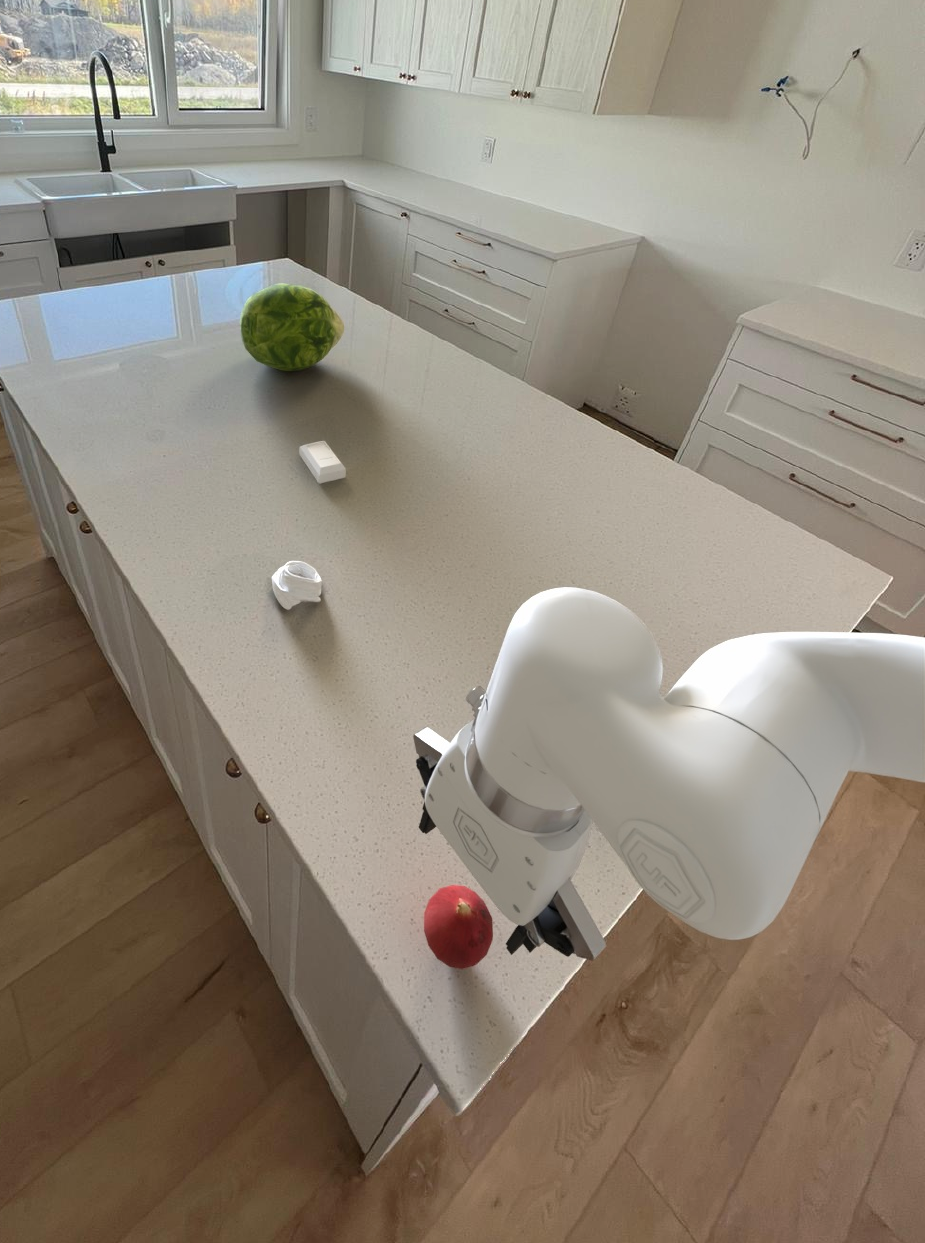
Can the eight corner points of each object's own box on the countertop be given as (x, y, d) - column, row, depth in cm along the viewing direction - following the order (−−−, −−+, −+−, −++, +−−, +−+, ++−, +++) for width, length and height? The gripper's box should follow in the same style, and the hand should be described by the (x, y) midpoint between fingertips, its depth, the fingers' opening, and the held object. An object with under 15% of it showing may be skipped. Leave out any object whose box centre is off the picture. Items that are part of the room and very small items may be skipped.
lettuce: (356, 375, 140) (365, 292, 132) (260, 383, 128) (264, 292, 120) (314, 352, 154) (320, 275, 146) (223, 357, 142) (224, 274, 134)
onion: (482, 908, 58) (499, 872, 53) (486, 985, 54) (505, 953, 49) (419, 899, 58) (431, 863, 54) (417, 975, 54) (430, 942, 49)
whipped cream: (264, 585, 89) (259, 560, 86) (305, 566, 92) (302, 541, 89) (290, 621, 84) (285, 595, 81) (333, 599, 86) (330, 574, 84)
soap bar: (318, 483, 107) (319, 471, 106) (299, 455, 114) (299, 442, 112) (345, 477, 109) (346, 465, 108) (324, 449, 115) (325, 437, 114)
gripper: (394, 685, 42) (371, 807, 52) (609, 944, 31) (526, 1031, 41) (476, 636, 45) (439, 759, 56) (694, 853, 35) (597, 955, 45)
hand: (476, 875), depth 49 cm, fingers open, 9 cm apart
